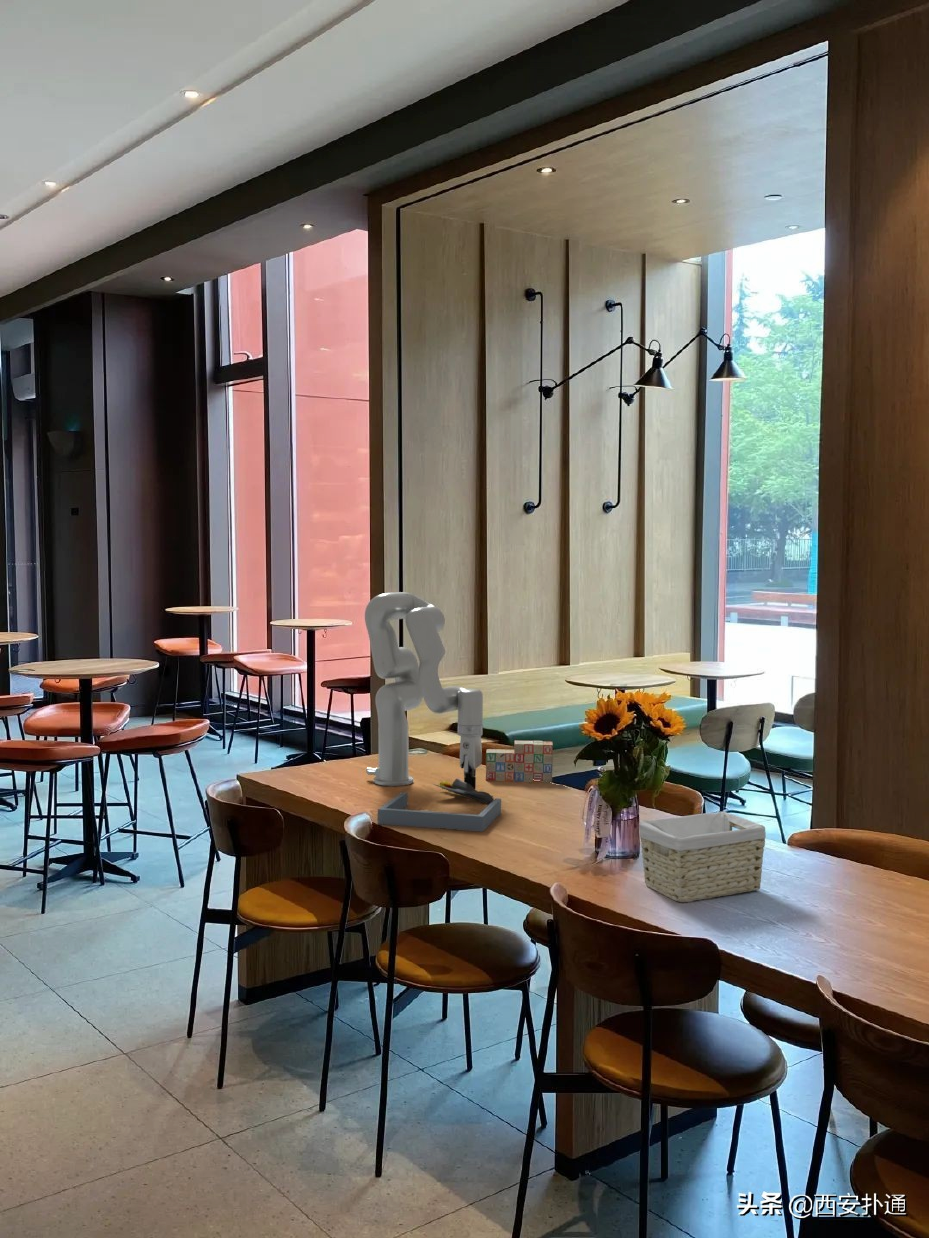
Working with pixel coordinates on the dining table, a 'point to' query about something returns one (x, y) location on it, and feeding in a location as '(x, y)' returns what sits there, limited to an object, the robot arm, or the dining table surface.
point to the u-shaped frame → (436, 816)
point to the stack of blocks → (521, 762)
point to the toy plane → (466, 791)
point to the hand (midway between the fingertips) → (469, 789)
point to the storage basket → (702, 855)
